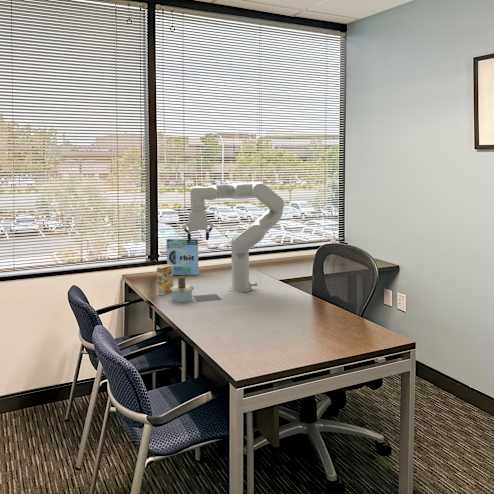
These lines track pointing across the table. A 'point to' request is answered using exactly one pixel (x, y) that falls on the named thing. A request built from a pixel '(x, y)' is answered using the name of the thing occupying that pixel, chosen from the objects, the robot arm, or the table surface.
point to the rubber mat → (207, 297)
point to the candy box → (164, 279)
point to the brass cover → (181, 286)
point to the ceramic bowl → (182, 296)
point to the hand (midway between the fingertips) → (198, 240)
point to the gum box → (183, 256)
